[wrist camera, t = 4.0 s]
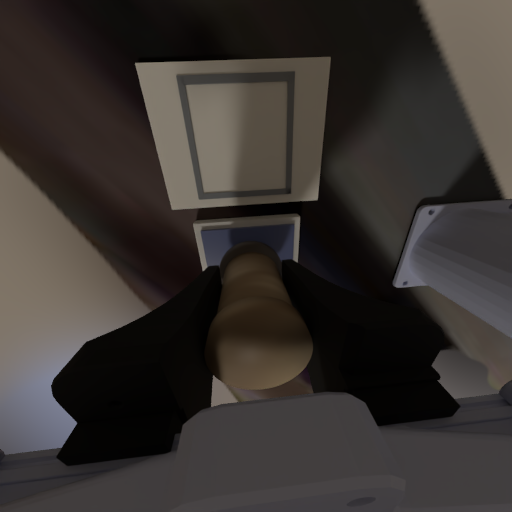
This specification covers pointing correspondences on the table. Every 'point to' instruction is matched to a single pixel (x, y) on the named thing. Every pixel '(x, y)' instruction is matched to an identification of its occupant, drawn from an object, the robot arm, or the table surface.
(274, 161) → the paper sheet
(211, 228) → the ink pad
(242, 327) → the stamp
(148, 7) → the table surface
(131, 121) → the table surface
